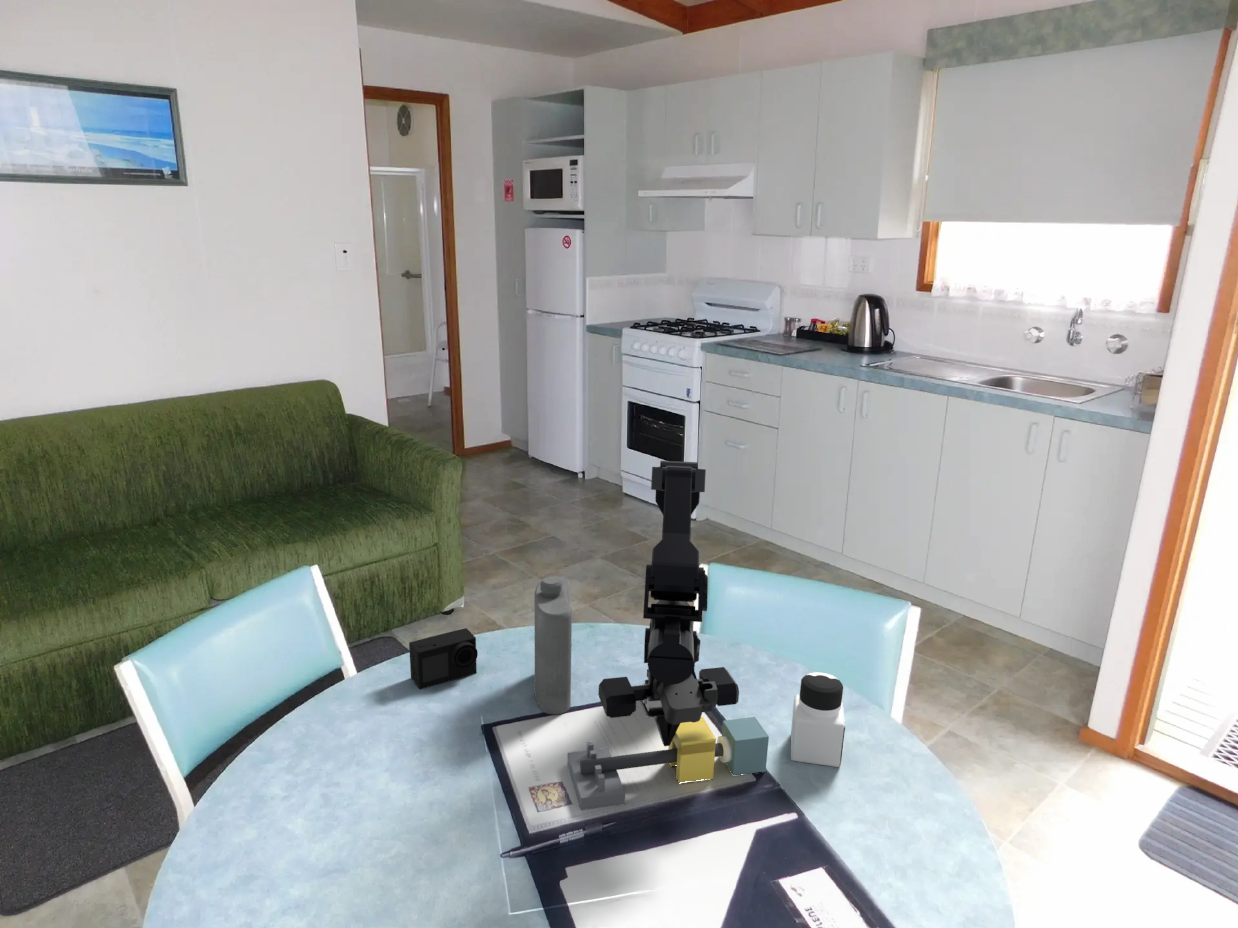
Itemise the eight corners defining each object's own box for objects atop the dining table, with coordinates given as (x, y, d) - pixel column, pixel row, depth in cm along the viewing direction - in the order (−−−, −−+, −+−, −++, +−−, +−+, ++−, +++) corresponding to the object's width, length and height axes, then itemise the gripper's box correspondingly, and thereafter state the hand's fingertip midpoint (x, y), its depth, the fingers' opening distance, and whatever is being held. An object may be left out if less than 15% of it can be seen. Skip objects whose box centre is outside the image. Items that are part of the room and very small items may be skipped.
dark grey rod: (584, 797, 112) (585, 759, 110) (577, 774, 117) (578, 737, 115) (765, 772, 118) (768, 736, 116) (752, 751, 123) (754, 716, 121)
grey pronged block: (567, 764, 119) (567, 740, 118) (608, 759, 120) (608, 735, 119) (580, 810, 109) (581, 785, 108) (624, 804, 111) (625, 779, 110)
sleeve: (667, 760, 120) (669, 720, 118) (700, 756, 121) (702, 716, 119) (679, 784, 115) (681, 742, 113) (712, 779, 116) (715, 738, 114)
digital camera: (421, 693, 136) (419, 655, 134) (410, 678, 140) (408, 641, 138) (479, 676, 141) (479, 640, 139) (467, 662, 146) (466, 627, 144)
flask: (534, 667, 144) (534, 562, 139) (568, 667, 145) (569, 561, 139) (534, 716, 130) (534, 601, 125) (571, 715, 131) (572, 600, 125)
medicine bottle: (840, 768, 120) (849, 695, 116) (790, 761, 121) (797, 689, 118) (838, 739, 126) (846, 670, 123) (790, 733, 128) (797, 664, 124)
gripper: (617, 682, 102) (614, 789, 106) (758, 668, 106) (749, 772, 110) (598, 639, 112) (596, 738, 116) (727, 628, 116) (720, 724, 121)
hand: (665, 744), depth 116 cm, fingers closed
